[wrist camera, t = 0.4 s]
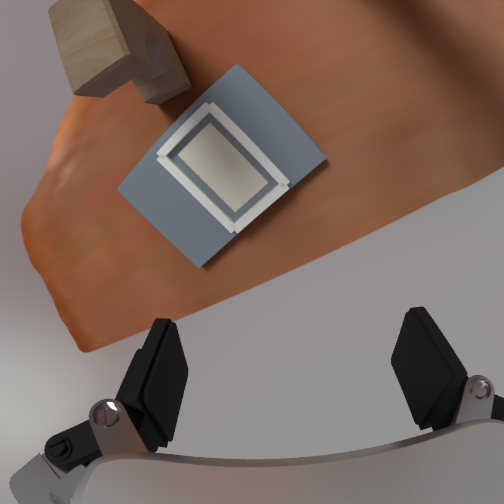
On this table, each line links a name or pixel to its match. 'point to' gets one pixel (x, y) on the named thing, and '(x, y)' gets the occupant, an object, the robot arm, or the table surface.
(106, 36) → the decorative block
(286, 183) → the board
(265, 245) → the table surface
